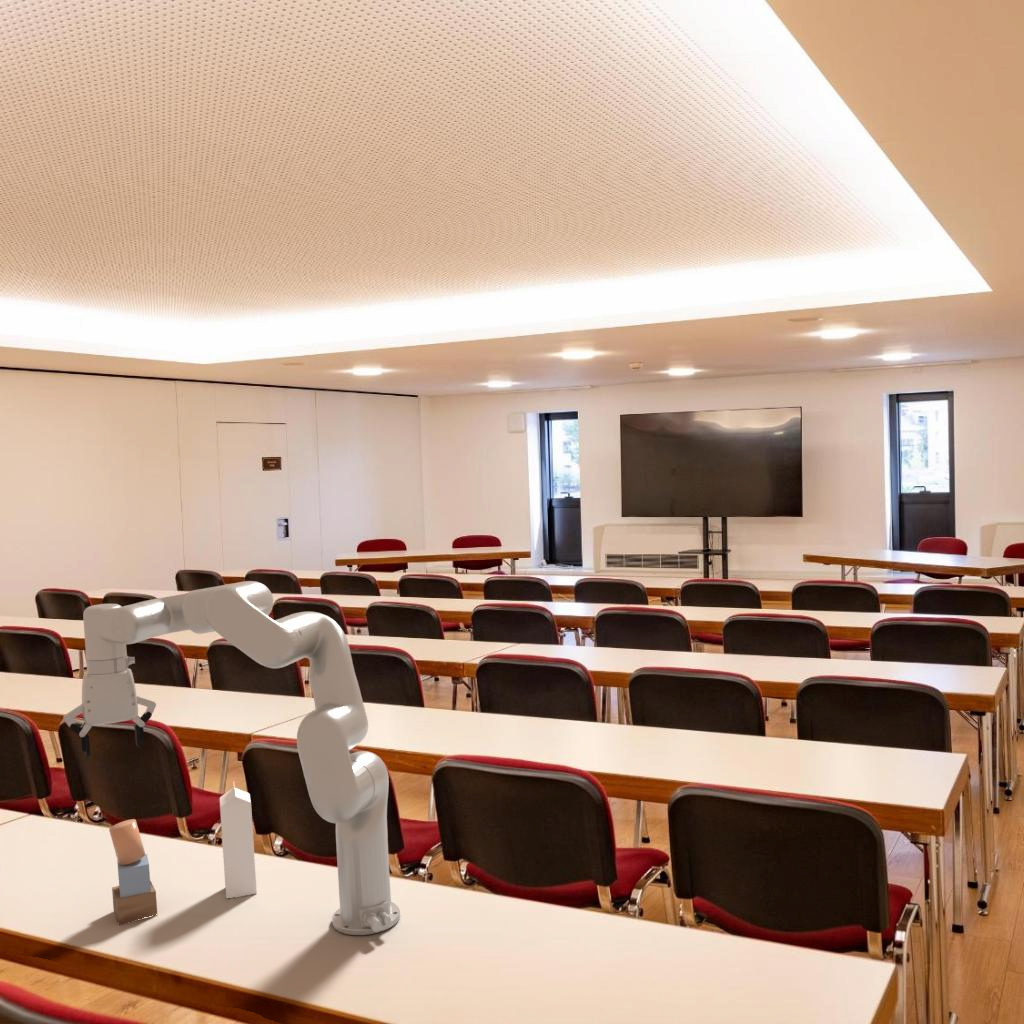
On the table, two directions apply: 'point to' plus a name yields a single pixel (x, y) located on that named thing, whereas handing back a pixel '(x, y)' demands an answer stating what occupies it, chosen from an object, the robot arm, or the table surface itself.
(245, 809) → the milk
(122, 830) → the terracotta capsule
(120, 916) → the walnut base block
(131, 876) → the slate blue cube
